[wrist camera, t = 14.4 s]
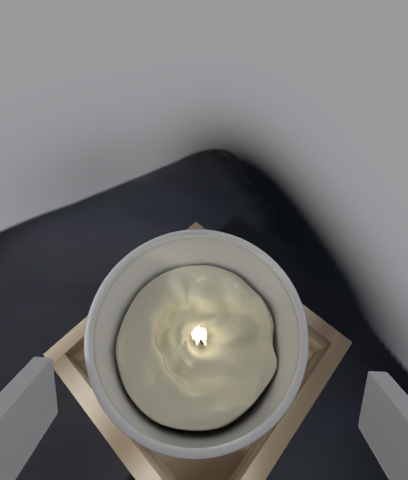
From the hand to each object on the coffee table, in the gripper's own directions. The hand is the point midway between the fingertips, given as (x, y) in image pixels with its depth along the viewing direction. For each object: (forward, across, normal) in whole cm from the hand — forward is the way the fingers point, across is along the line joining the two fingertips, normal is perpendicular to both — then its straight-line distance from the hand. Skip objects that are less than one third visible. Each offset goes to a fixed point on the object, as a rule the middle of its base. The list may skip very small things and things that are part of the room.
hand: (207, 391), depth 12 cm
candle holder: (+10, 0, -6) cm, 12 cm away
